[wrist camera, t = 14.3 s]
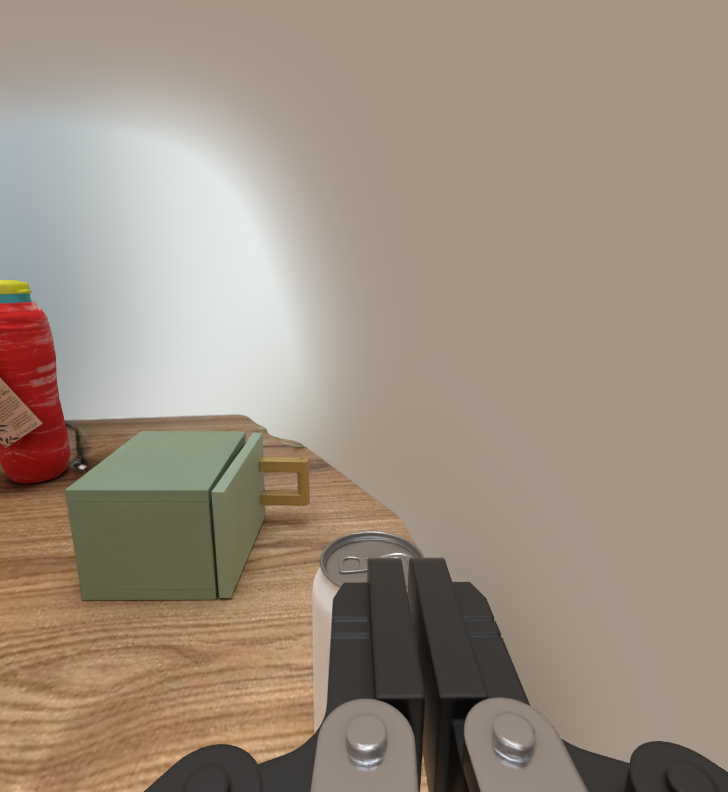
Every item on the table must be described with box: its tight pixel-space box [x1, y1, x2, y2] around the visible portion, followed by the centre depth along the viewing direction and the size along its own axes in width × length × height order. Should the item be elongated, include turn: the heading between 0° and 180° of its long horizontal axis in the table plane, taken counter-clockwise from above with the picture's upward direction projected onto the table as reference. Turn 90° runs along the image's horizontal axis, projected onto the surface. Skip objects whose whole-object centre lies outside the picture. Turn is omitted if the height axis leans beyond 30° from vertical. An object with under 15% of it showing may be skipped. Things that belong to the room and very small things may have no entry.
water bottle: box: [0, 280, 70, 484], centre depth 59 cm, size 12×8×25 cm, turn 178°
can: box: [312, 531, 425, 733], centre depth 27 cm, size 6×6×12 cm
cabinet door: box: [211, 433, 310, 598], centre depth 46 cm, size 6×14×10 cm, turn 179°
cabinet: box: [65, 431, 246, 600], centre depth 45 cm, size 11×14×10 cm
